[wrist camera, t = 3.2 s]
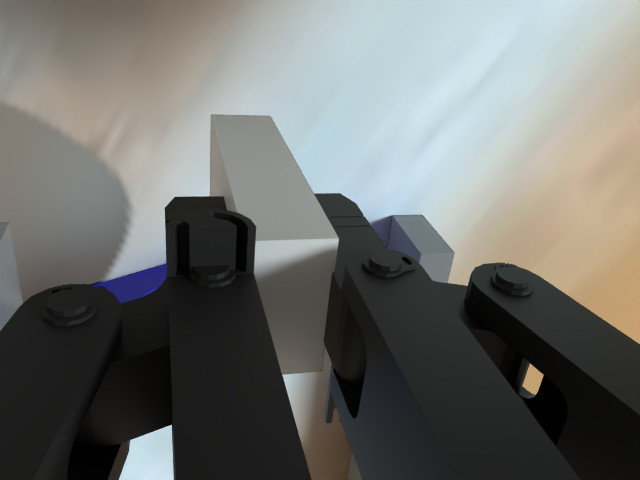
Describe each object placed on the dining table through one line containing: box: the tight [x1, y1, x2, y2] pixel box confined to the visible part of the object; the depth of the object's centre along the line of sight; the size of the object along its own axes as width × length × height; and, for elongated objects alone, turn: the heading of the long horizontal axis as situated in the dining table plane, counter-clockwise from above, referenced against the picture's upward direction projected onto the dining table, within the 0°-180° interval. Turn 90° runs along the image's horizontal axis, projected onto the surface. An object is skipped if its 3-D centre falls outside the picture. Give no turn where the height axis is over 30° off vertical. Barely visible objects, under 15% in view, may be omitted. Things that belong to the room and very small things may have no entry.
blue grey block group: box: [0, 215, 454, 480], centre depth 28 cm, size 23×19×5 cm
